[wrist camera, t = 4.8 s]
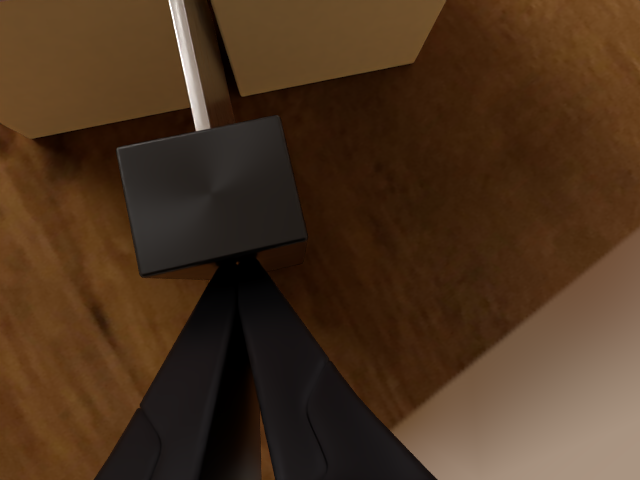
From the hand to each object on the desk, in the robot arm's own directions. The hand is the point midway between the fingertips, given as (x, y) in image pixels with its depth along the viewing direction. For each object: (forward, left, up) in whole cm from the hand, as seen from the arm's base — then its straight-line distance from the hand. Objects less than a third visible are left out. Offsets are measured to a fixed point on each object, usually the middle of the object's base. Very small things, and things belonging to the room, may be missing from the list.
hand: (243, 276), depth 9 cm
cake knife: (+5, +2, -7) cm, 9 cm away
